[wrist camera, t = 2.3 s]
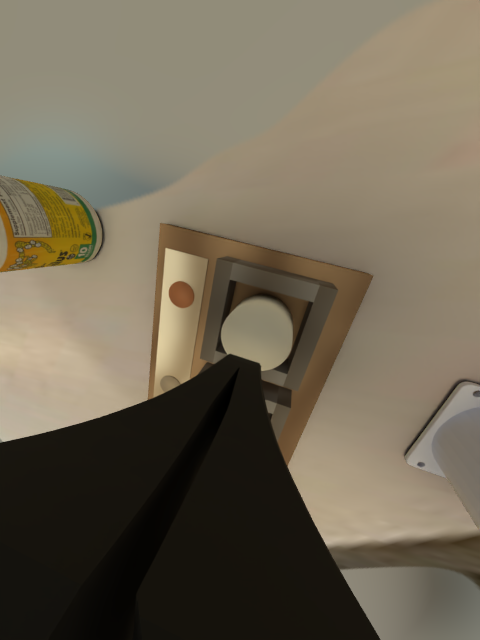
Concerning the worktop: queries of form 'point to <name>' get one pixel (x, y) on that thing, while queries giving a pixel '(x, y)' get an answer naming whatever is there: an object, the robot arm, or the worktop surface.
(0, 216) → the supplement bottle
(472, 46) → the worktop surface
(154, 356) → the board
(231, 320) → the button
